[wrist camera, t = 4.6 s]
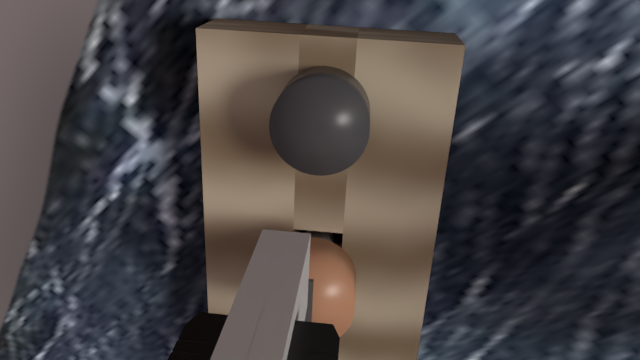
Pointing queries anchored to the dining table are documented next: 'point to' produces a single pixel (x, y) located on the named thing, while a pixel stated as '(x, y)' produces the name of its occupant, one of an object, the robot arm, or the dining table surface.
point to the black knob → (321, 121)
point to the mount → (337, 189)
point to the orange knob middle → (330, 283)
